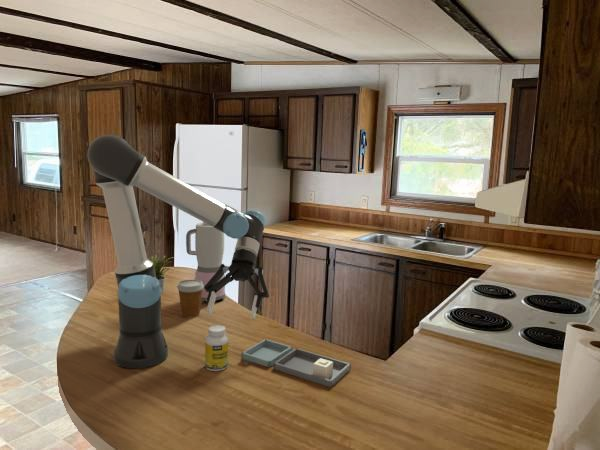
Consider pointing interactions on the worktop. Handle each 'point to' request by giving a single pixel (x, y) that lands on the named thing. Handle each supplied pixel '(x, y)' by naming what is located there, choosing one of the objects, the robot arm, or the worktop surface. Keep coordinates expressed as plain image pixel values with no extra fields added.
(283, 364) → the charcoal tray
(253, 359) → the slate tray
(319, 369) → the letter cube
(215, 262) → the blender
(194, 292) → the disposable coffee cup
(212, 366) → the pill bottle
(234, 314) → the worktop surface
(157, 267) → the house plant
